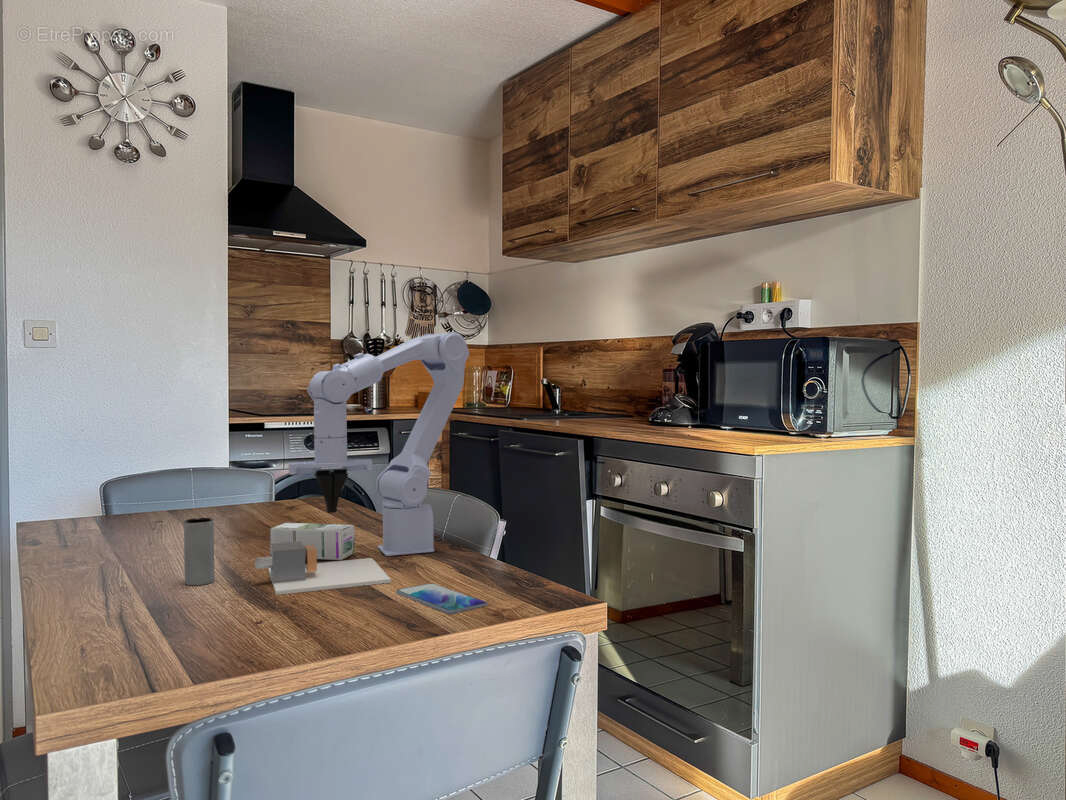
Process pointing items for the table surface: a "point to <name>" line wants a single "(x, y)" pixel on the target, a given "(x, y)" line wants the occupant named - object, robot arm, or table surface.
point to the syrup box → (318, 538)
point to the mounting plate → (336, 576)
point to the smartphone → (441, 598)
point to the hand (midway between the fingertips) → (331, 511)
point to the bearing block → (287, 562)
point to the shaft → (309, 560)
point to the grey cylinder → (199, 551)
